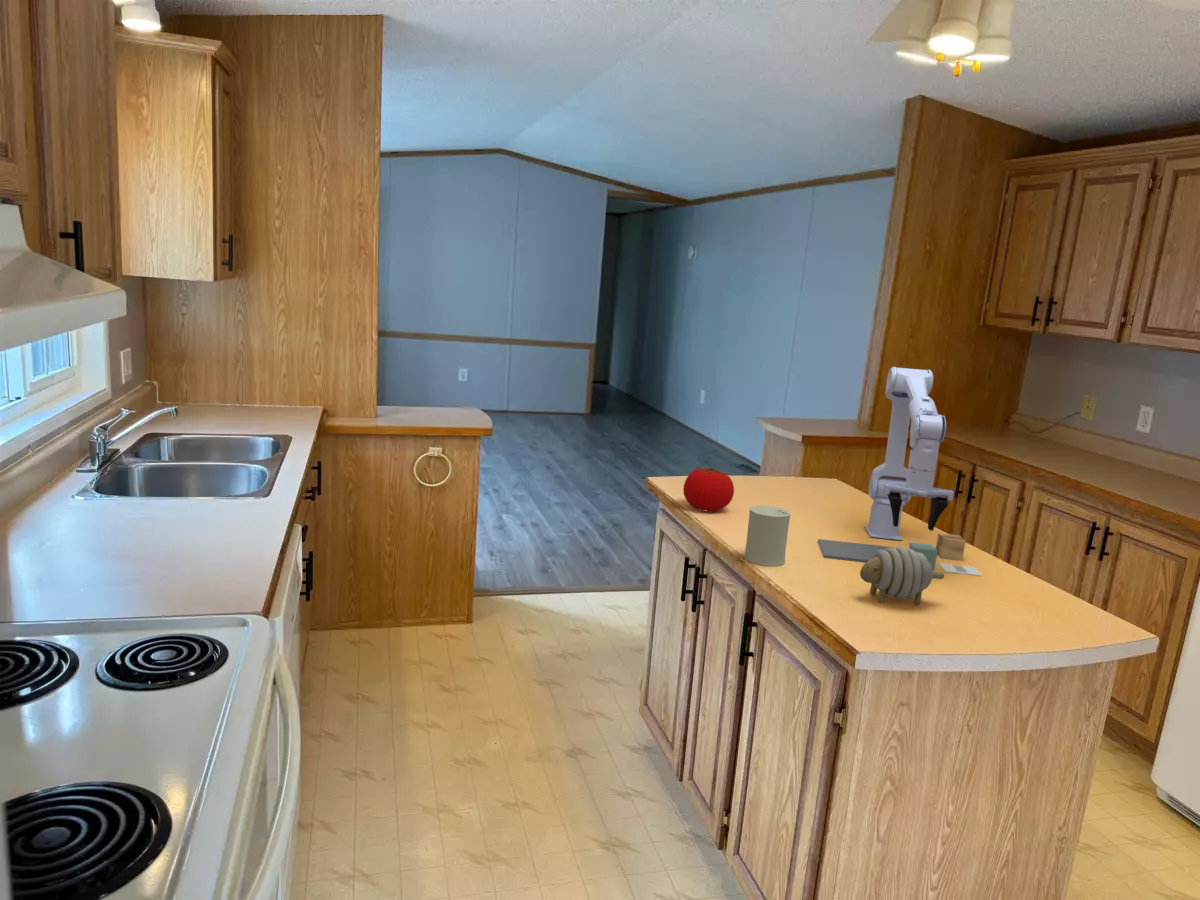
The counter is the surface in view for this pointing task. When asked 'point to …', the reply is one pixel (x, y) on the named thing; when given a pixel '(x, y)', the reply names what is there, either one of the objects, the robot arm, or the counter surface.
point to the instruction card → (960, 569)
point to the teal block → (925, 552)
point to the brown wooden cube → (950, 546)
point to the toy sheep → (898, 574)
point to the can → (767, 535)
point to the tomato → (708, 489)
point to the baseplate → (848, 550)
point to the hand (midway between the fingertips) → (912, 527)
